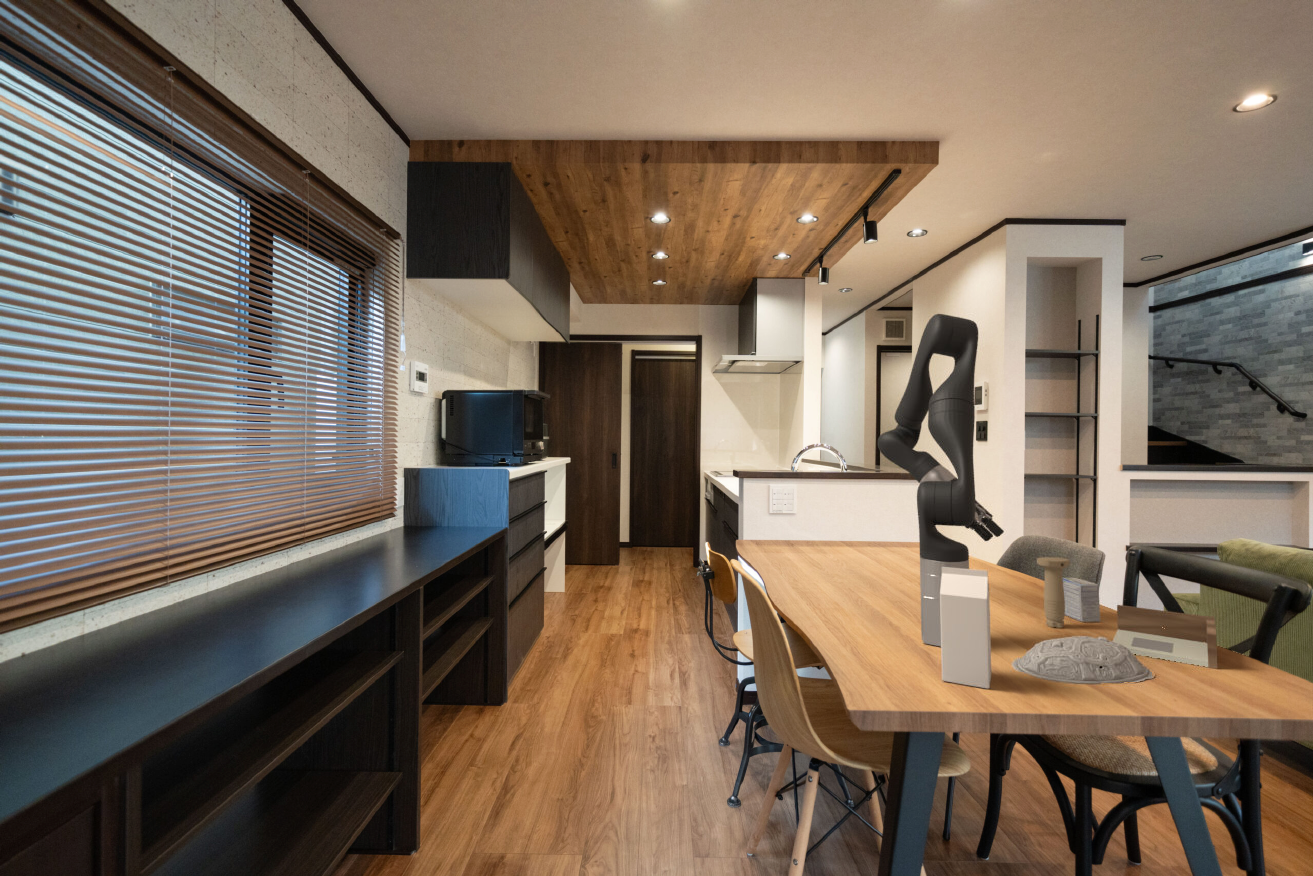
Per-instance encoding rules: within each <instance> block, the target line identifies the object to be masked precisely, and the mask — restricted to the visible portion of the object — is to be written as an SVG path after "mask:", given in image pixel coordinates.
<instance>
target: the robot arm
mask: <svg viewBox="0 0 1313 876" xmlns="http://www.w3.org/2000/svg"><path fill="white" fill-rule="evenodd" d="M921 335H922V336H921V338H920V341H919V344H918V348H917V352H916V353H915V354H916V355H915V356H914V357H915V358H914V361H913V364H912V368H911V372H910V375H909V379H908V383H907V385H906V387H905V390H904V393H903V395H902V397H901V399H900V401H899V404H898V406H897V407H896V410H895V413H894V421H895V422H896V423H897V425H896V427H895V428H894V429H891V430H888V431H884V432H883V433H882V434H880V435H879V436H878V439H877V448H878V450H879V451H880V453H881V455H882V456H883V457H884V458H886V459H887V460H888V461H890V462H891V463H893V464H894V465H896V466H898V467H899V468H901V469H902V470H905V471H906V472H908V473H909V474H910V476H912V477H913V478H914V479H915V480H916V482H918V484H919V485H918V488H917V490H916V491H917V492H916V505H917V506H916V508H917V509H916V510H917V519H918V530H919V531H918V532H919V533H918V534H919V535H918V536H919V539H918V540H919V573H920V576H919V579H920V580H919V581H920V582H919V583H920V584H919V586H920V590H919V591H920V625H921V627H920V629H921V630H920V631H921V636H920V637H921V640H922V643H923V644H926V645H931V646H932V645H933V646H937V647H941V615H940V588H941V577H942V567H949V568H961V569H970V560H969V559H970V555H969V554H970V553H969V552H970V551H969V548H968V546H967V545H966V544H964V543H961V542H959V541H956V540H955V539H951V538H949V537H947V536H946V535H944V534H943V533H941V532H940V531H939V530H938V528H937V526H949V527H950V526H951V527H964V528H965V529H966V530H967V529H970V530H971V531H974V532H975V533H976V534H977V535H978V536H979V537H980V538H981V539H982V540H983V541H984V542H988V541H990V540H991V539H992V538H993V537H994V536H995V537H996V538H998V537H1000V536H1002V534H1004V531H1005V530H1004V529H1003V528H1001V527H1000V525H998V524H997V523H996V522H995V521H994V520H993V517H994V515H993V514H992V513H990V512H989V511H988V510H987V509H986V508H985V507H984V506H982V504H981V503H980V502H978V501H977V500H976V488H975V487H976V486H975V485H976V483H975V469H974V468H975V467H974V466H975V465H974V436H975V417H976V416H975V413H976V412H975V409H976V408H975V406H976V405H975V371H976V363H977V361H976V360H977V355H978V347H979V346H978V345H979V328H978V325H977V323H976V322H975V321H974V320H971V319H968V318H963V317H959V316H954V315H948V314H945V313H937V314H934V315H933V316H931V318H930V319H929V320H928V322H927V323H926V325H925V327H924V330H923V332H922V334H921ZM934 354H936V355H940V356H946V357H950V358H953V360H954V364H953V370H952V372H951V373H950V375H948V377H947V378H946V380H944V381H943V382H942V383H941V384H940V386H938V387H937V389H936V390H935V391H934V390H933V385H932V384H933V383H932V381H931V376H930V364H931V359H932V357H933V355H934ZM927 414H928V416H927ZM926 416H927V428H928V432H929V433H930V436H931V437H932V439H933V440H934V441H935V443H936V444H937V445H938V446H939V448H940V449H941V450H942V451H943V452H944V454H945V456H946V457H947V458H948V460H949V461H950V463H951V464H952V465H951V466H952V467H953V469H954V471H955V473H956V476H955V475H954V474H953V473H952V472H951V471H950V470H949V469H947V468H946V467H945V466H944V465H942V464H941V463H940V462H939V461H938V460H937V459H936V458H935V457H933V456H932V454H930V453H929V452H927V451H923V450H922V451H921V450H920V451H919V450H918V451H917V450H915V449H914V448H915V447H916V446H917V444H918V442H919V439H920V435H921V432H922V431H921V430H922V425H923V422H924V420H925V418H926Z"/></svg>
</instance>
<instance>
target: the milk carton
mask: <svg viewBox="0 0 1313 876" xmlns="http://www.w3.org/2000/svg"><path fill="white" fill-rule="evenodd" d="M988 574H989V572H988V570H985V569H983V570H982V569H973V568H969V569H961V568H949V567H942V577H941V588H940V615H941V646H940V653H941V655H940V656H941V681H943V682H949V683H954V684H959V685H963V686H964V685H965V686H971V687H975V688H976V687H977V688H981V689H990V686H991V680H992V679H991V678H992V650H991V649H992V648H991V646H992V645H991V641H992V640H991V610H990V609H991V608H990V607H991V605H990V586H989V585H990V584H989V575H988Z"/></svg>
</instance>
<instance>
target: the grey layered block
mask: <svg viewBox="0 0 1313 876" xmlns="http://www.w3.org/2000/svg"><path fill="white" fill-rule="evenodd" d="M1063 588H1064V597H1065V616H1067V617H1068V616H1069V618H1072V619H1074V620H1077V621H1079V622H1082V623H1100V622H1101V608H1100V607H1101V605H1100V590H1099V589H1100V587H1099V584H1098V583H1094V582H1092V581H1091V582H1090V581H1088V580H1084V579H1080V578H1078V577H1063Z"/></svg>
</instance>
